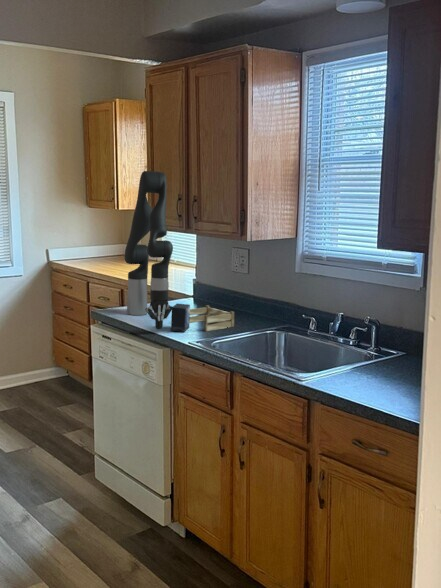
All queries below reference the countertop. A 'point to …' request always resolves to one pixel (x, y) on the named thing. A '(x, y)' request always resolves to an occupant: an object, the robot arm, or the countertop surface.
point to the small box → (180, 317)
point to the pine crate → (213, 318)
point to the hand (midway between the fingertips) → (158, 329)
